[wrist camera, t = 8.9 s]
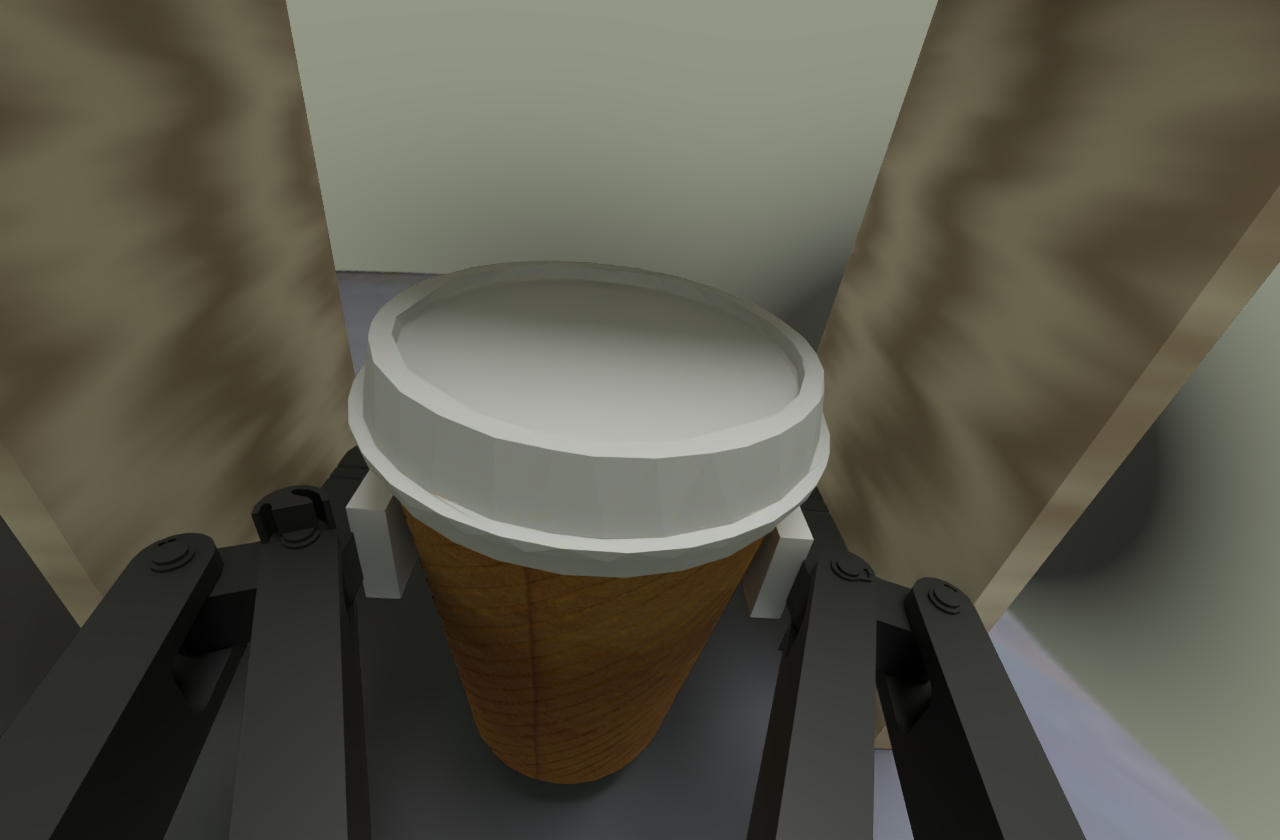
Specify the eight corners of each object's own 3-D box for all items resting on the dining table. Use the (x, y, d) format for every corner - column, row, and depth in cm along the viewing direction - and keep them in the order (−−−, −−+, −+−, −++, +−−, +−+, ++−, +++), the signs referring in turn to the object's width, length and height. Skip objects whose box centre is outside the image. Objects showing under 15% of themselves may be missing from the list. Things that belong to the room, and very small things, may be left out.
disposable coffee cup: (567, 525, 22) (588, 238, 16) (769, 664, 18) (908, 347, 12) (344, 688, 16) (225, 302, 9) (581, 972, 11) (669, 619, 5)
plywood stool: (896, 749, 18) (1749, -337, 6) (149, 724, 16) (-1228, -1213, 3) (788, 486, 30) (987, -57, 17) (349, 450, 28) (211, -208, 15)
